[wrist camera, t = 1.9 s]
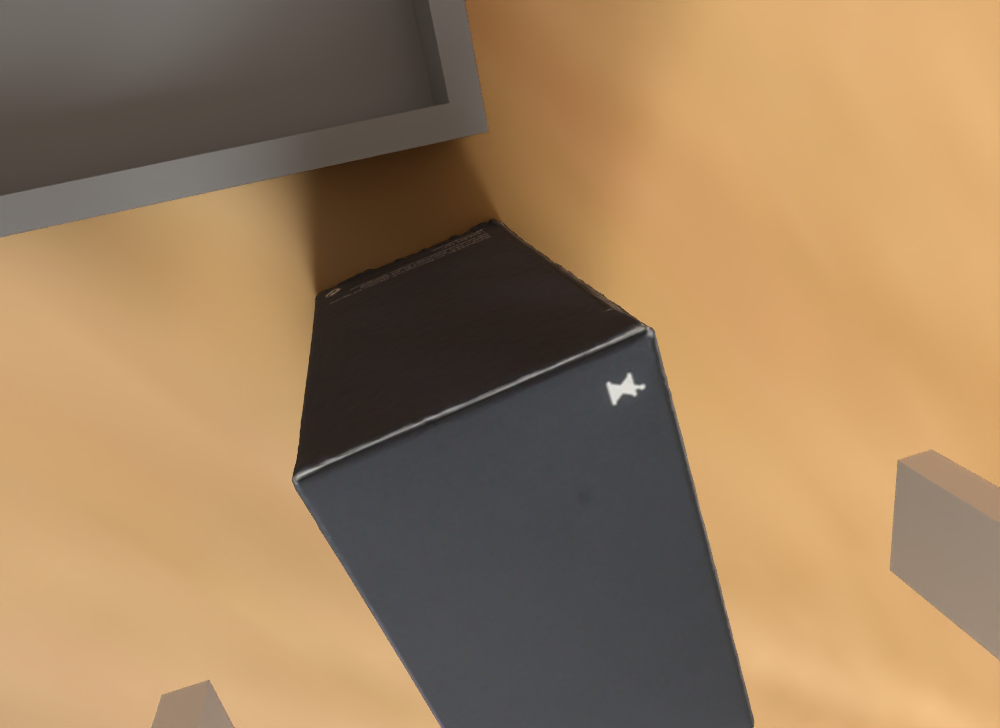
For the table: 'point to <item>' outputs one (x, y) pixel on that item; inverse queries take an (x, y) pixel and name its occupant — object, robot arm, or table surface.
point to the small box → (515, 494)
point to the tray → (216, 95)
